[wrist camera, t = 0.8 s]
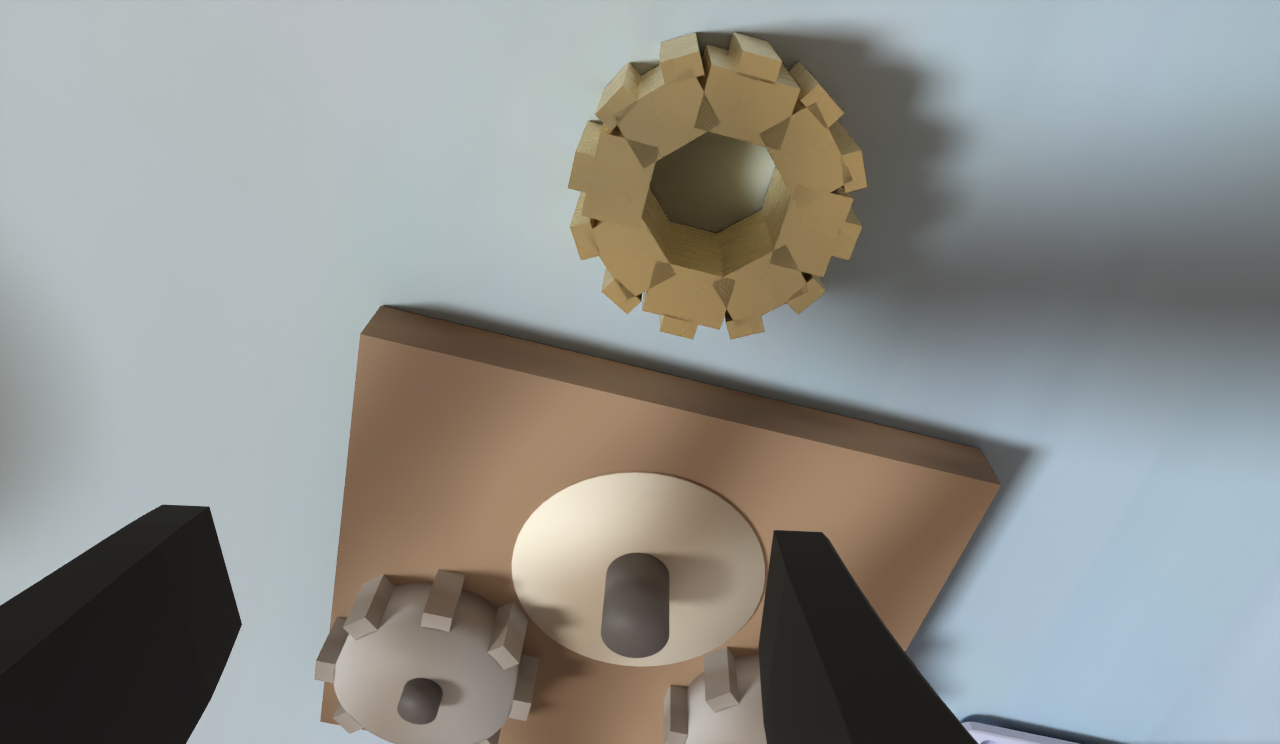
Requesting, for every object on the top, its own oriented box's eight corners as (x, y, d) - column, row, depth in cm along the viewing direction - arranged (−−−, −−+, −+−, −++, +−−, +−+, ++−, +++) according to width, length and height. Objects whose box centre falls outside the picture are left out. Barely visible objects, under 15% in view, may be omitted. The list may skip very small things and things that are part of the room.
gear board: (980, 448, 21) (1035, 544, 18) (803, 772, 27) (821, 885, 24) (381, 305, 20) (325, 381, 16) (338, 679, 26) (291, 787, 23)
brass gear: (882, 73, 17) (913, 98, 15) (791, 315, 19) (806, 367, 17) (615, -2, 16) (605, 12, 14) (557, 257, 19) (542, 302, 17)
